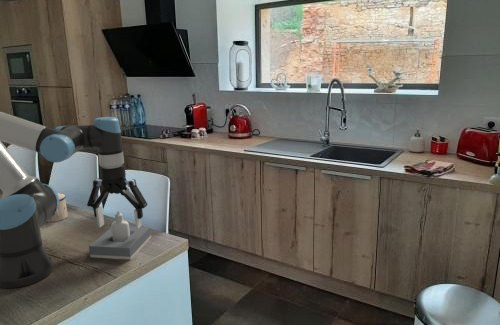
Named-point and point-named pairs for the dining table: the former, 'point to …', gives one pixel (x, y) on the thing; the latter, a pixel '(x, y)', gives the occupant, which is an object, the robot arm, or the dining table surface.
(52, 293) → the dining table surface
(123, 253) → the hole block
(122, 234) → the eye dropper bottle
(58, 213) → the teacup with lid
